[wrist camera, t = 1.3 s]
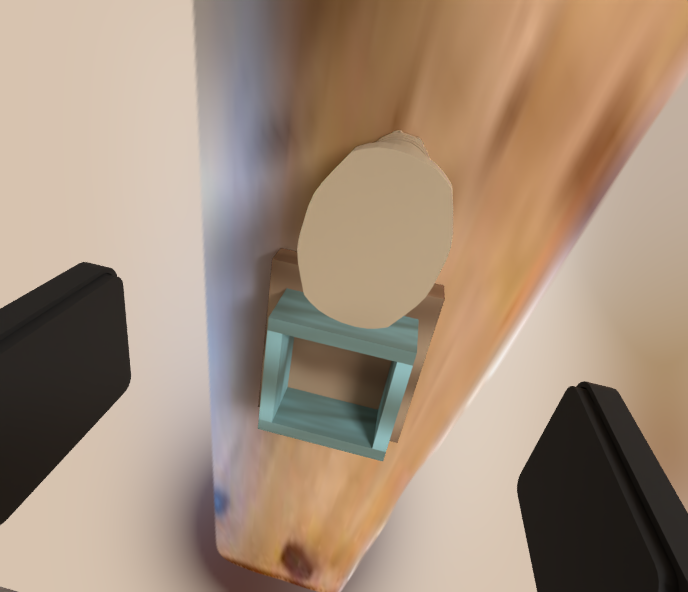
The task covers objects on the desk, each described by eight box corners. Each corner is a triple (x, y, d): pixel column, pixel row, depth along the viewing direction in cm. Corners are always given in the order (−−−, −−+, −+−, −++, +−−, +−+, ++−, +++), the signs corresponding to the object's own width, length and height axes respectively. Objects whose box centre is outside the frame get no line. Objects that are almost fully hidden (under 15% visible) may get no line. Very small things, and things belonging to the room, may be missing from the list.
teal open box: (280, 248, 32) (251, 285, 27) (443, 285, 31) (446, 331, 26) (266, 391, 39) (240, 442, 34) (399, 425, 38) (393, 483, 33)
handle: (348, 190, 29) (280, 298, 16) (382, 89, 26) (333, 123, 13) (416, 216, 29) (402, 345, 16) (459, 119, 26) (485, 183, 13)
